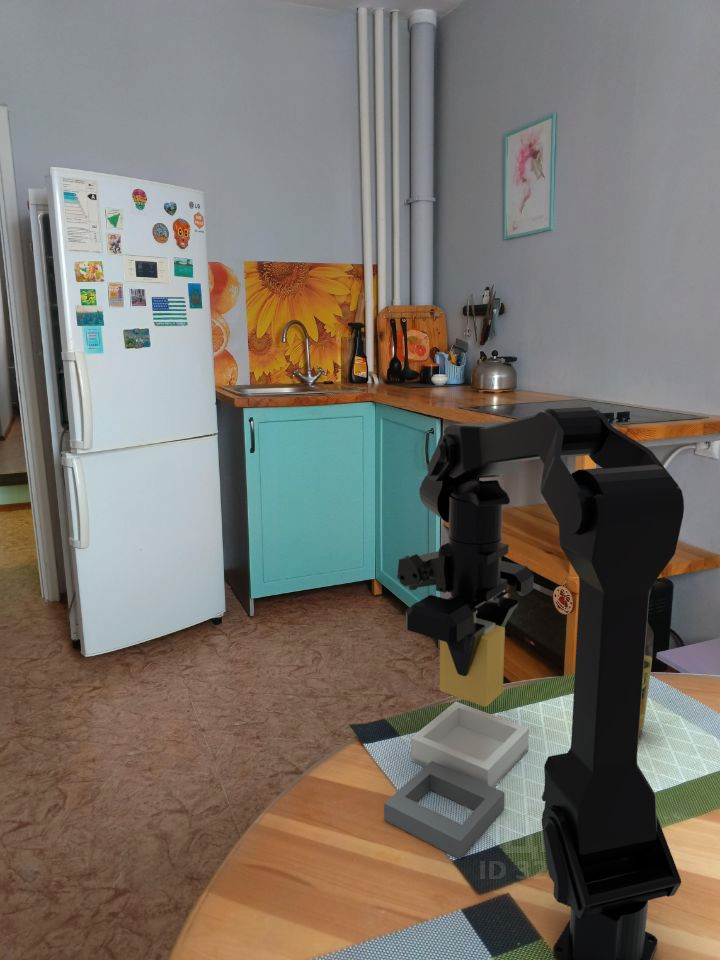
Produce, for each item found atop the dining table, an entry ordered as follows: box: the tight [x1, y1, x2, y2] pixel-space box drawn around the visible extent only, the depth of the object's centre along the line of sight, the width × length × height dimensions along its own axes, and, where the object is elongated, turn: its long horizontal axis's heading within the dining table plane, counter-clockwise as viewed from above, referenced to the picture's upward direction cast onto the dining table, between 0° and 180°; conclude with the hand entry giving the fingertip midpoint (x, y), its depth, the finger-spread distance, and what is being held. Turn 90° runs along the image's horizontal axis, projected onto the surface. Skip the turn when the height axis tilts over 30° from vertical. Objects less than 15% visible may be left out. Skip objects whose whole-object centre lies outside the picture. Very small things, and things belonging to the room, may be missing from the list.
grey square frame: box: [383, 761, 506, 860], centre depth 74 cm, size 9×9×2 cm
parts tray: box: [410, 701, 530, 788], centre depth 84 cm, size 10×10×3 cm
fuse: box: [439, 618, 506, 708], centre depth 81 cm, size 4×6×9 cm, turn 52°
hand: (472, 667), depth 82 cm, fingers closed on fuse, 4 cm apart
